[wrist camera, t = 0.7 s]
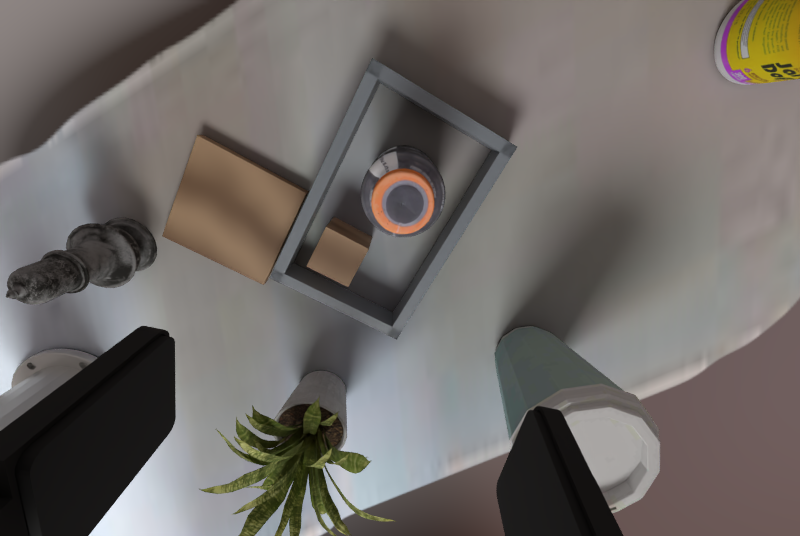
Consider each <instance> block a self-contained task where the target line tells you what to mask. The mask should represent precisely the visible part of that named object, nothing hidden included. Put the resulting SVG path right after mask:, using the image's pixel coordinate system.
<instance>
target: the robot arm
mask: <svg viewBox="0 0 800 536" xmlns="http://www.w3.org/2000/svg"><path fill="white" fill-rule="evenodd" d="M174 422H175V341H174V339H173V338H172V337H170V336H169V333H168V331H166V330H162V329H157V328H152V327H147V326H141V327H139V328H137V329H136V330H135V331H133V332H132V333H131V334H129V335H128V336H127V337H125V338H124V339H123V340H121V341H120V342H119V343H117V344H116V345H115V346H113V347H112V348H111V349H109V350H108V351H106V352H105V353H104V354H102V355H101V356H100V357H98V358H97V357H95V356H93V355H91V354H88V353H85V352H82V351H78V350H72V349H66V348H64V349H50V350H45V351H42V352H40V353H37V354H35V355H33V356H32V357H30V358H28V359H27V360H25V361H24V362H23V363H22V364H21V365H20V366H19V367H18V368H17V370H16V371H15V373H14V375H13V379H12V388H11V389H10V390H8V391H7V392H5V393H4V394H2V395H1V396H0V536H88V535H89V534H90V533H91V532H92V530H93V529H94V528H95V527H96V525H97V524H98V523H99V522H100V520H101V519H102V518H103V516H104V515H105V514H106V513H107V511H108V510H109V509H110V508H111V506H112V505H113V504H114V503H115V501H116V500H117V499H118V497H119V496H120V495H121V494H122V492H123V491H124V490H125V489H126V487H127V486H128V485H129V484H130V482H131V481H132V480H133V479H134V477H135V476H136V475H137V473H138V472H139V471H140V470H141V468H142V467H143V466H144V465H145V463H146V462H147V461H148V460H149V458H150V457H151V456H152V454H153V453H154V452H155V451H156V449H157V448H158V447H159V446H160V444H161V443H162V442H163V441H164V439H165V438H166V437H167V435H168V434H169V433H170V431H171V430H172V428H173V425H174ZM497 499H498V504H499V508H500V513H501V518H502V523H503V528H504V532H505V536H623V534H622V532H621V530H620V528H619V526H618V524H617V522H616V520H615V518H614V516H613V514H612V512H611V510H610V508H609V506H608V504H607V502H606V500H605V498H604V496H603V494H602V492H601V489H600V487H599V485H598V483H597V481H596V479H595V478H594V476H593V475H592V473H591V471H590V469H589V466H588V464H587V462H586V460H585V458H584V456H583V454H582V452H581V450H580V448H579V446H578V444H577V442H576V440H575V438H574V436H573V434H572V432H571V430H570V428H569V426H568V424H567V422H566V420H565V418H564V416H563V414H562V412H561V411H560V410H557V409H553V408H548V407H543V406H536V407H535V408H534V410H529V411H528V412H527V413H526V416H525V418H524V420H523V423H522V425H521V427H520V430H519V432H518V434H517V437H516V439H515V441H514V444H513V446H512V449H511V451H510V453H509V456H508V458H507V460H506V463H505V465H504V467H503V470H502V472H501V475H500V477H499V479H498V482H497Z"/></svg>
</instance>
